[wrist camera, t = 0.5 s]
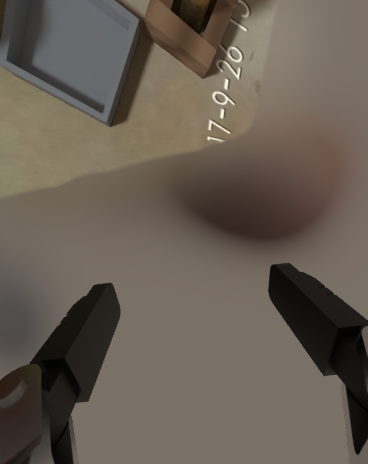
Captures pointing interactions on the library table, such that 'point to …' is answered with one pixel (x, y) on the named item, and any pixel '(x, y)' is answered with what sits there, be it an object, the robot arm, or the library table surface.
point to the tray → (71, 50)
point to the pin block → (188, 32)
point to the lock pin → (193, 12)
